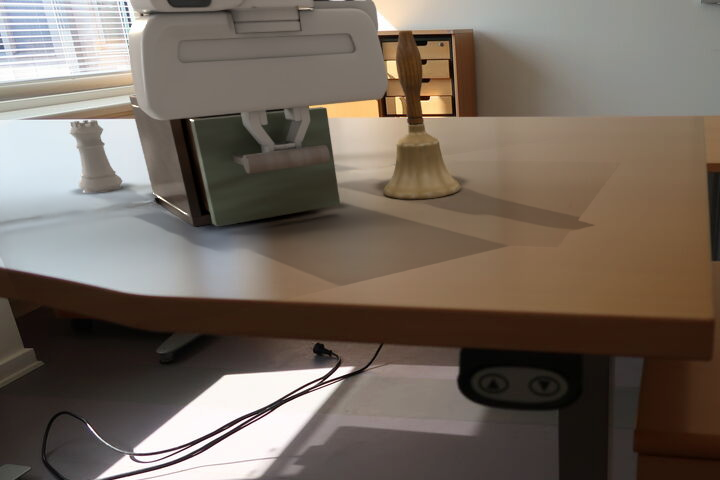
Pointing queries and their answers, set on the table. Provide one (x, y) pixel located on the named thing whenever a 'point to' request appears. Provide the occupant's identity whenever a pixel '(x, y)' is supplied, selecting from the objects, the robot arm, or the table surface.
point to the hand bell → (416, 137)
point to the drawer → (259, 167)
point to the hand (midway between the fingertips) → (284, 164)
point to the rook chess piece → (93, 158)
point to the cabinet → (169, 166)
